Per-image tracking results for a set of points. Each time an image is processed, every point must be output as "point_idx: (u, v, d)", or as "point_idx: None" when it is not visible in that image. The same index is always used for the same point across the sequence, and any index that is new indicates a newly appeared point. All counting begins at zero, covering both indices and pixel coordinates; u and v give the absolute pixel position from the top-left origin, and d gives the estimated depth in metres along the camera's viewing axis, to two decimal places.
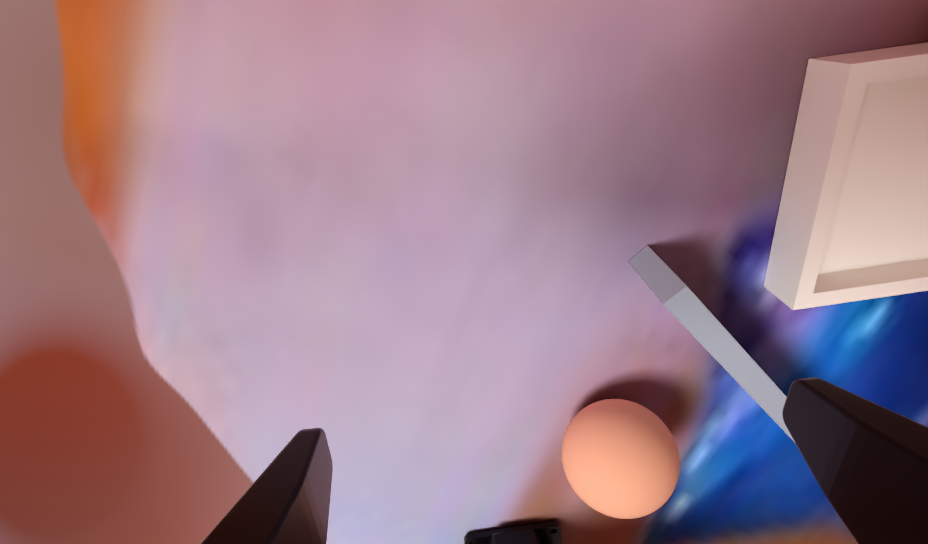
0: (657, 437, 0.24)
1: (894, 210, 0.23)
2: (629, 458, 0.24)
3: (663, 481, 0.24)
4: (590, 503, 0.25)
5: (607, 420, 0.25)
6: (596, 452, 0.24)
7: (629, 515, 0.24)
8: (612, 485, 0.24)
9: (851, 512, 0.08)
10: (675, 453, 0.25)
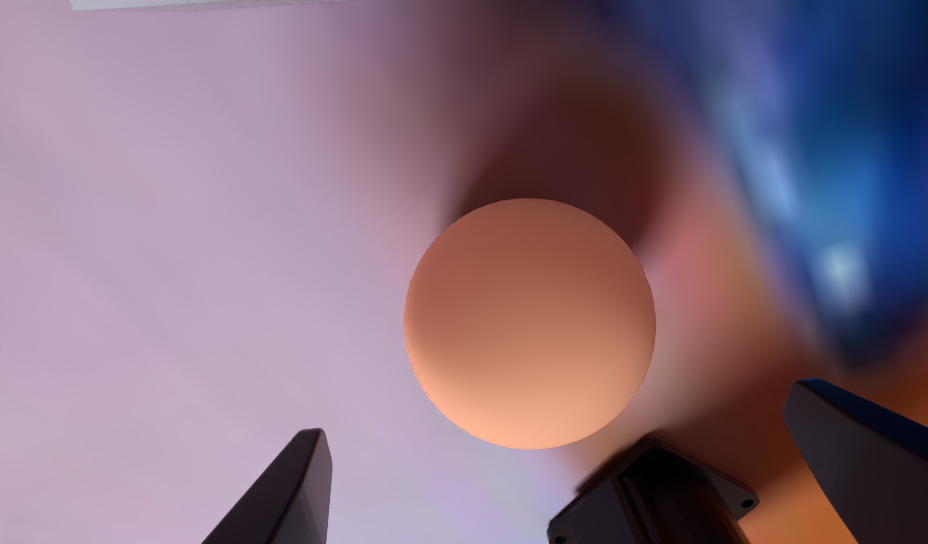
0: (491, 246, 0.10)
1: None
2: (449, 337, 0.10)
3: (553, 327, 0.09)
4: (511, 447, 0.11)
5: (410, 289, 0.11)
6: (416, 364, 0.11)
7: (571, 430, 0.10)
8: (471, 407, 0.10)
9: (851, 512, 0.08)
10: (563, 244, 0.10)
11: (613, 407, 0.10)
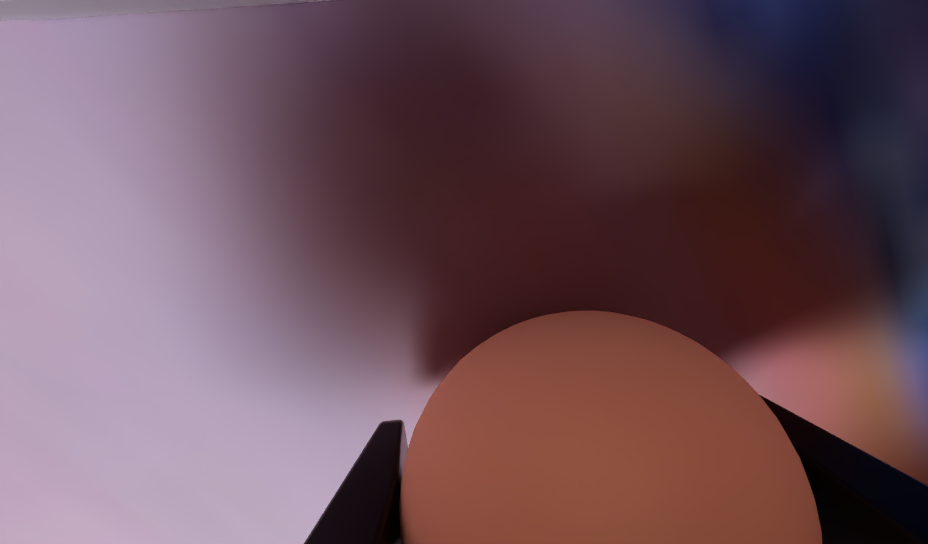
0: (554, 439, 0.06)
1: None
2: None
3: None
4: None
5: (409, 469, 0.07)
6: None
7: None
8: None
9: None
10: (684, 440, 0.05)
11: None
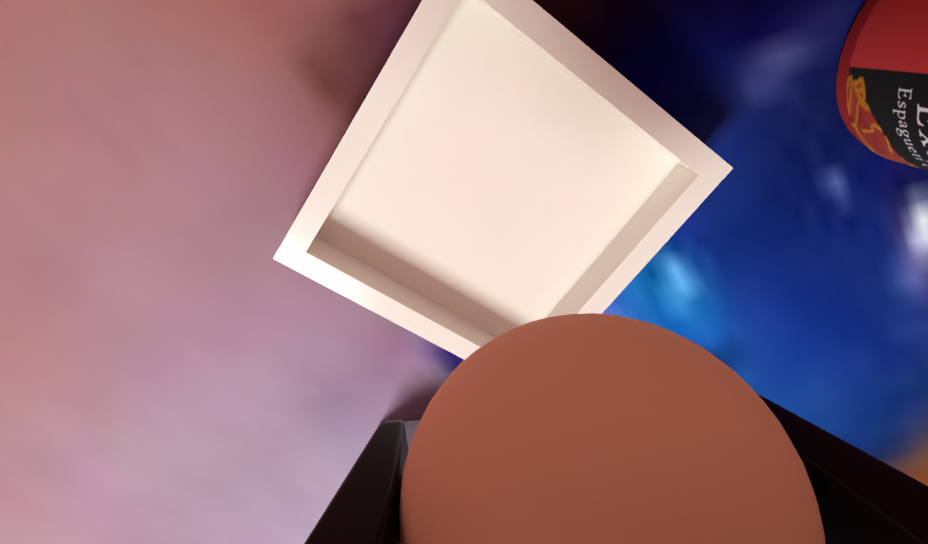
0: (555, 444, 0.06)
1: (526, 232, 0.18)
2: None
3: None
4: None
5: (409, 473, 0.07)
6: None
7: None
8: None
9: None
10: (686, 445, 0.05)
11: None
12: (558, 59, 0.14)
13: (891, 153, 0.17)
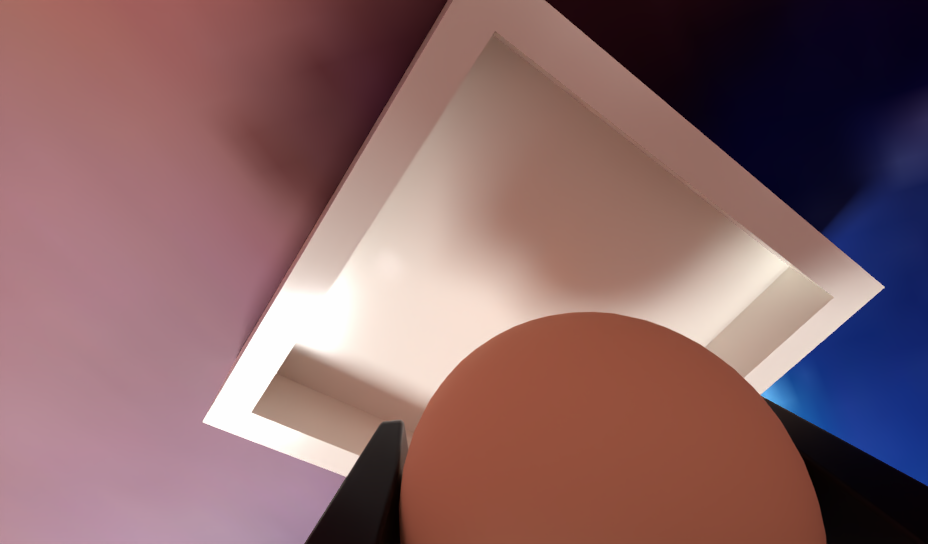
0: (555, 443, 0.06)
1: None
2: None
3: None
4: None
5: (409, 473, 0.07)
6: None
7: None
8: None
9: None
10: (687, 443, 0.05)
11: None
12: (639, 142, 0.09)
13: None
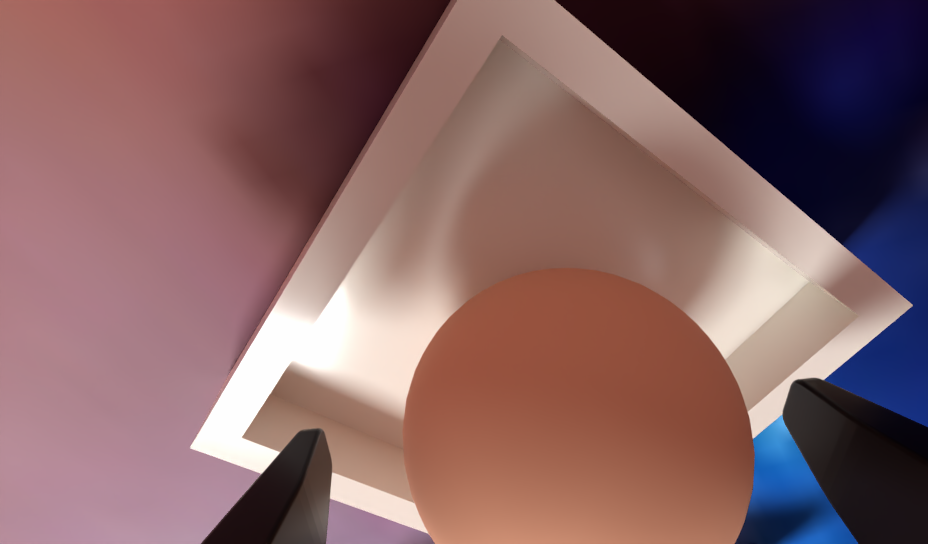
0: (529, 358, 0.07)
1: None
2: (470, 492, 0.07)
3: (628, 492, 0.06)
4: None
5: (411, 398, 0.08)
6: (420, 508, 0.08)
7: None
8: None
9: (851, 512, 0.08)
10: (634, 356, 0.07)
11: None
12: (656, 153, 0.08)
13: None
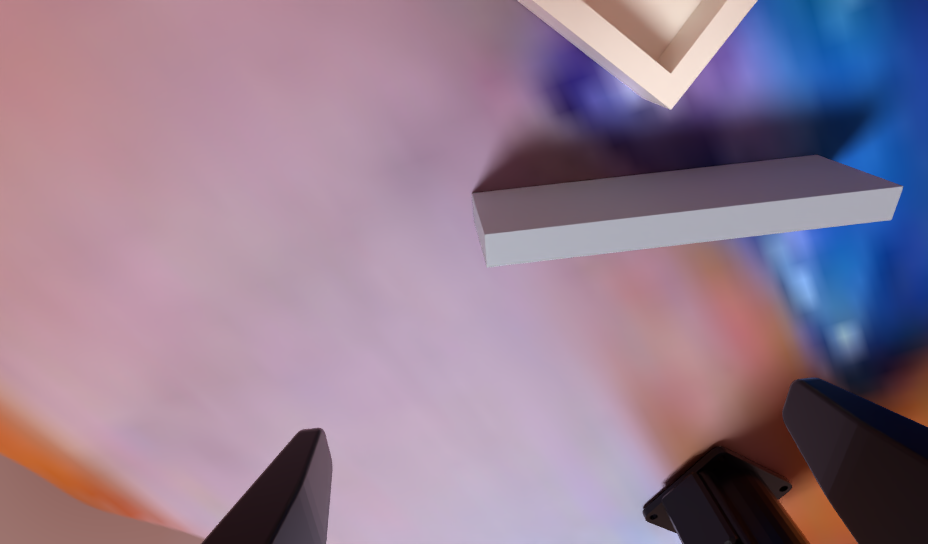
0: None
1: None
2: None
3: None
4: None
5: None
6: None
7: None
8: None
9: (851, 512, 0.08)
10: None
11: None
12: None
13: None
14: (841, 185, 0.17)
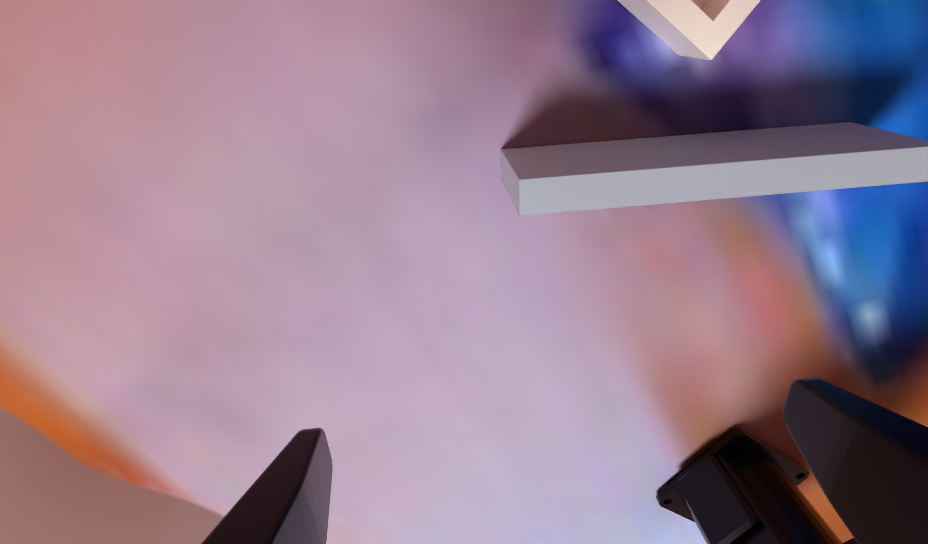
0: None
1: None
2: None
3: None
4: None
5: None
6: None
7: None
8: None
9: (851, 512, 0.08)
10: None
11: None
12: None
13: None
14: (881, 144, 0.17)
